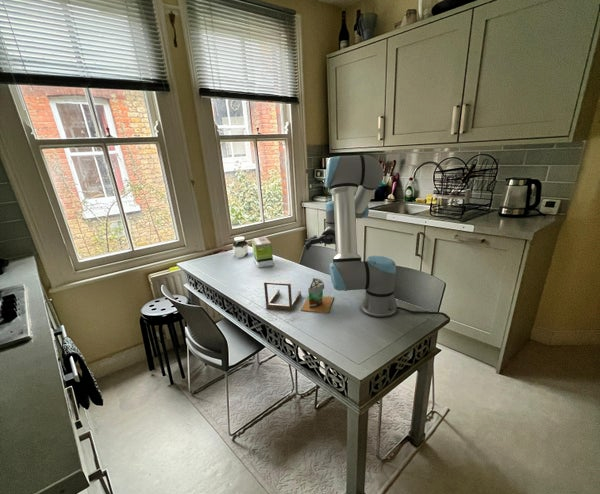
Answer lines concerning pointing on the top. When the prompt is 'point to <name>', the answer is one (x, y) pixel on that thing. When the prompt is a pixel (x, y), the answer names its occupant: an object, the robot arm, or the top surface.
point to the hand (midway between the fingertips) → (321, 247)
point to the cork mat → (322, 308)
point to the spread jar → (240, 247)
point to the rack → (278, 306)
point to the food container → (316, 293)
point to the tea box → (262, 252)
